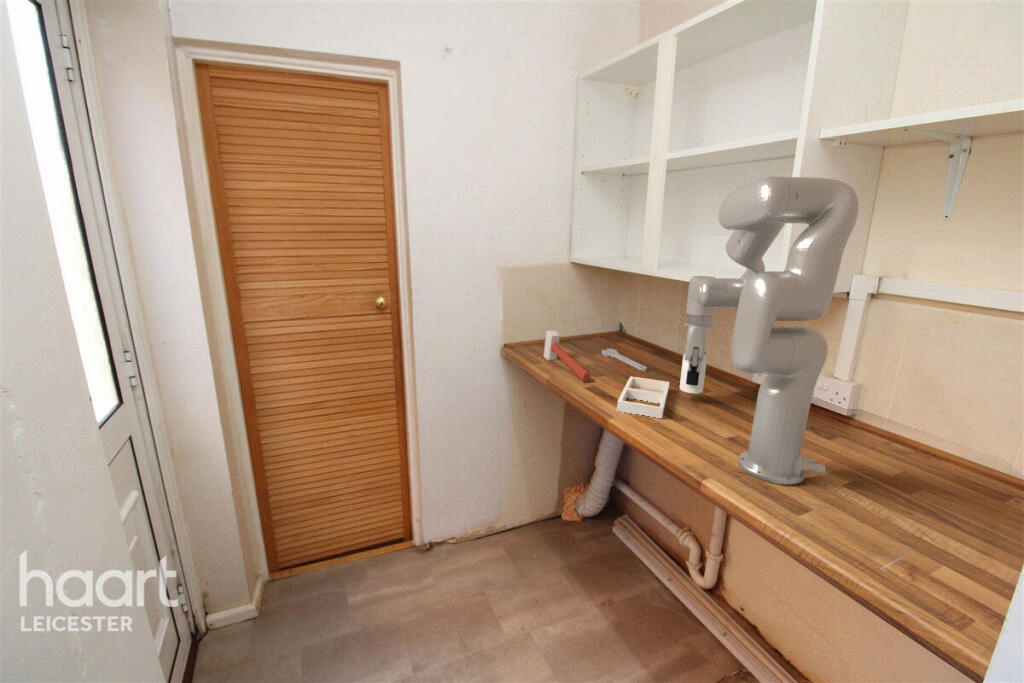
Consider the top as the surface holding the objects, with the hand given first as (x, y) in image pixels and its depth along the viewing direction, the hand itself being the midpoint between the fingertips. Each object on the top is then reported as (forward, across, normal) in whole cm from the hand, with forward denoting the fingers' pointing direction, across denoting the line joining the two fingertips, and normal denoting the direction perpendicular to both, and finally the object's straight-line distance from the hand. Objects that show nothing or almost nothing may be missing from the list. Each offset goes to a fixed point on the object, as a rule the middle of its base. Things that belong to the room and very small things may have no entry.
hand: (692, 382), depth 135 cm
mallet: (+6, -14, -42) cm, 44 cm away
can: (+3, -2, 0) cm, 4 cm away
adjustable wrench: (+6, -33, -25) cm, 42 cm away
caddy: (+6, +5, -12) cm, 15 cm away
